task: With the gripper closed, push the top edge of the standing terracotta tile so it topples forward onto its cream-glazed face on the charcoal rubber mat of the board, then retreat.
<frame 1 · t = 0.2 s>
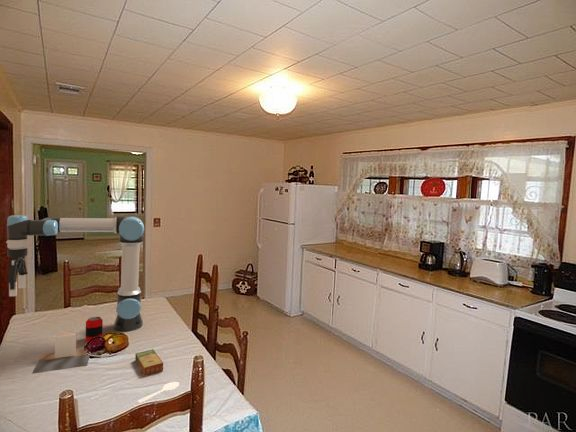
hand: (17, 291, 163), 28 cm above the table, fingers open, 13 cm apart
soda can: (94, 341, 176), on the table
spoon: (159, 393, 135), on the table
tile: (65, 355, 158), point 1 cm above the table, touching board
carton: (148, 366, 155), on the table
board: (64, 362, 154), on the table
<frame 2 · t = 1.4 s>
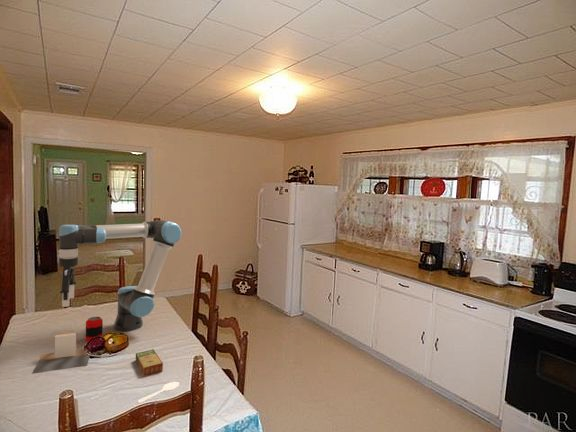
hand: (68, 302, 162), 24 cm above the table, fingers open, 12 cm apart
nothing on the table moved.
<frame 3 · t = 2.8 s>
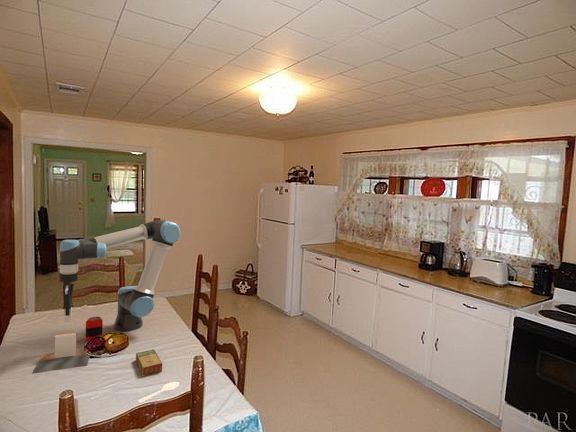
hand: (67, 321, 163), 15 cm above the table, fingers closed
nothing on the table moved.
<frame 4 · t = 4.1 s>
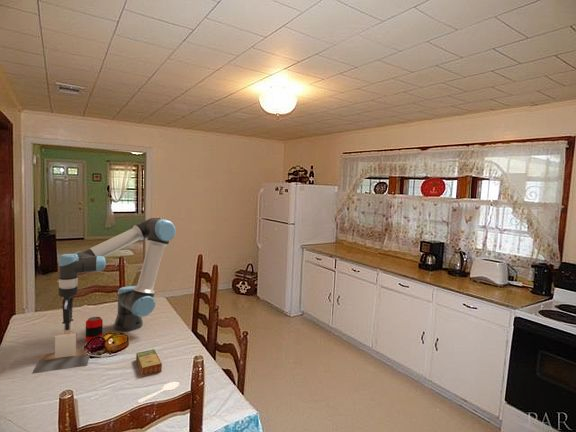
hand: (67, 335, 162), 9 cm above the table, fingers closed
nothing on the table moved.
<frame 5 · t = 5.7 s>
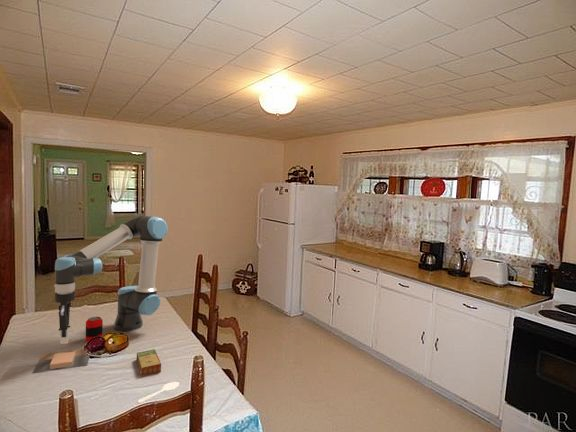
hand: (64, 343, 154), 9 cm above the table, fingers closed
tile: (65, 354, 156), point 2 cm above the table, tilted 90°, touching board
everything else where it was.
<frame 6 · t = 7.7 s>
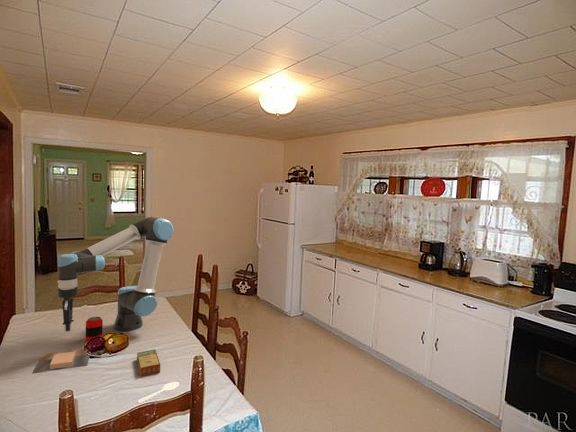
hand: (68, 336, 160), 9 cm above the table, fingers closed
nothing on the table moved.
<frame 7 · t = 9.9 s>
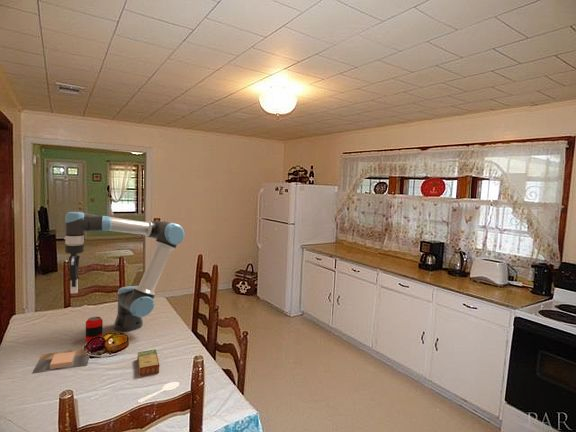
hand: (74, 292, 164), 28 cm above the table, fingers closed
nothing on the table moved.
at the end: tile tilted 90°; tile inside the target area (3.3 cm from its centre), point 2.2 cm above the table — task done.
